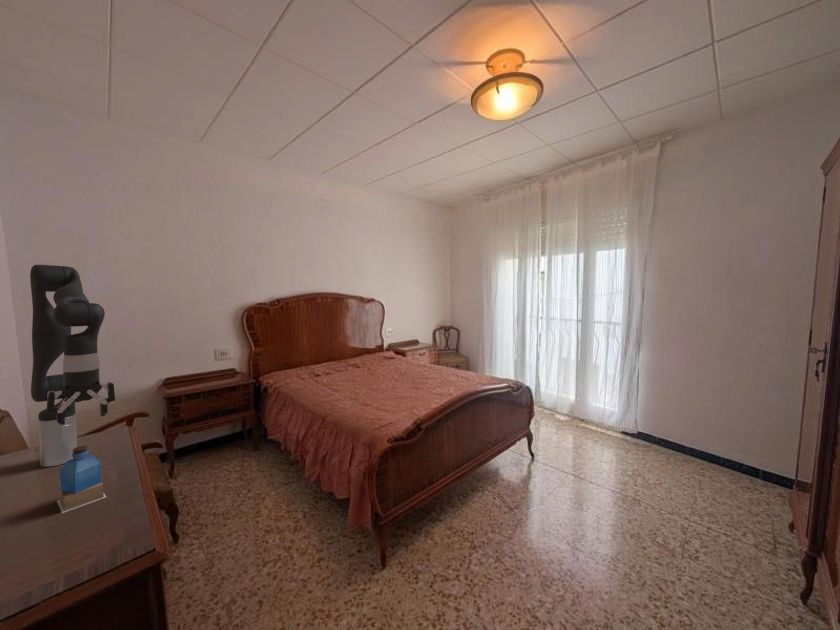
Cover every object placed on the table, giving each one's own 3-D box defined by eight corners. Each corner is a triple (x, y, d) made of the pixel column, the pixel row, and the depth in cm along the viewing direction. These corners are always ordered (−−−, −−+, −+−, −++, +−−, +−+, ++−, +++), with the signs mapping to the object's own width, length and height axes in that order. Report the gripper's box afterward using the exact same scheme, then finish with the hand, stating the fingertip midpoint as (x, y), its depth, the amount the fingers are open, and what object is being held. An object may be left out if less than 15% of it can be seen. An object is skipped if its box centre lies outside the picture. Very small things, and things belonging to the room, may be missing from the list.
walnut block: (60, 500, 95) (59, 487, 95) (97, 488, 102) (97, 475, 102) (64, 511, 91) (64, 497, 91) (103, 497, 97) (103, 484, 97)
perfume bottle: (75, 493, 92) (74, 454, 92) (60, 490, 94) (59, 451, 93) (101, 482, 98) (100, 444, 98) (87, 479, 100) (85, 442, 99)
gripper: (110, 362, 104) (111, 410, 105) (43, 370, 93) (45, 423, 94) (116, 366, 100) (117, 416, 101) (47, 374, 88) (49, 430, 89)
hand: (83, 419), depth 97 cm, fingers open, 8 cm apart
